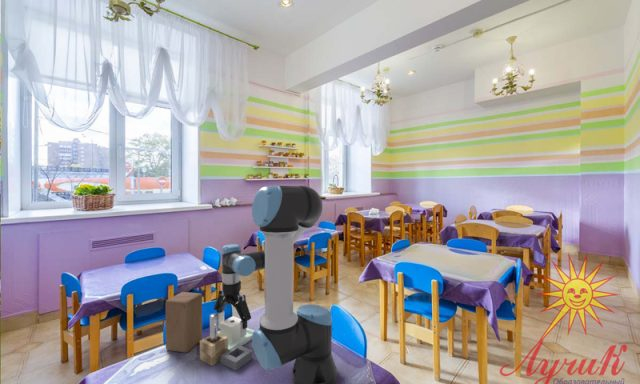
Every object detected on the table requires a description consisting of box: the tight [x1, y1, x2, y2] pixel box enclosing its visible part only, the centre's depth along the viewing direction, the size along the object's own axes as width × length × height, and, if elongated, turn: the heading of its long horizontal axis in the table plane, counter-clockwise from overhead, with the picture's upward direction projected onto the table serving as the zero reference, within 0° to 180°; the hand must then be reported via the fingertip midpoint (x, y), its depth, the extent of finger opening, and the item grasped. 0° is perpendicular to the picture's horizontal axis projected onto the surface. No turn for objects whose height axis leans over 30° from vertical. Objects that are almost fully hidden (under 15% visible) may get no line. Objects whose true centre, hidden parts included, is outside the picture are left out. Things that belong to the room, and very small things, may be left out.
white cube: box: [219, 315, 244, 344], centre depth 113 cm, size 7×7×7 cm
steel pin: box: [209, 313, 219, 343], centre depth 101 cm, size 3×3×16 cm
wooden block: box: [165, 291, 203, 353], centre depth 109 cm, size 10×10×20 cm
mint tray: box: [218, 327, 255, 350], centre depth 113 cm, size 15×15×2 cm
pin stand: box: [220, 344, 254, 372], centre depth 99 cm, size 8×8×3 cm
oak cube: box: [199, 333, 228, 366], centre depth 101 cm, size 7×7×7 cm
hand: (232, 331), depth 113 cm, fingers open, 13 cm apart
